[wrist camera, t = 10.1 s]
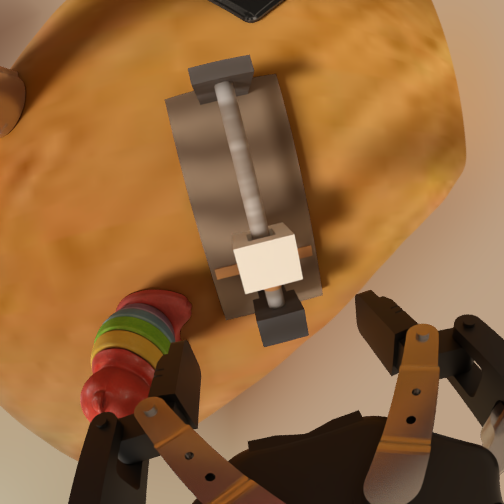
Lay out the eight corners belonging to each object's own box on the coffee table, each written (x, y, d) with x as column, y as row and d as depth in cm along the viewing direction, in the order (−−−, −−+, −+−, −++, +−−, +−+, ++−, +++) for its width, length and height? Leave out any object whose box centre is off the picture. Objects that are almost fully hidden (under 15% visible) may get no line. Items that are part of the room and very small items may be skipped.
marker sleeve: (232, 234, 27) (233, 249, 22) (282, 222, 27) (294, 234, 22) (242, 272, 28) (245, 294, 24) (290, 260, 28) (302, 279, 24)
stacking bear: (182, 362, 36) (165, 470, 19) (114, 345, 35) (68, 440, 18) (195, 295, 34) (172, 405, 17) (117, 276, 32) (45, 364, 15)
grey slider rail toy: (167, 102, 27) (144, 79, 18) (273, 77, 27) (291, 46, 18) (226, 314, 35) (226, 359, 26) (319, 289, 35) (345, 328, 26)
